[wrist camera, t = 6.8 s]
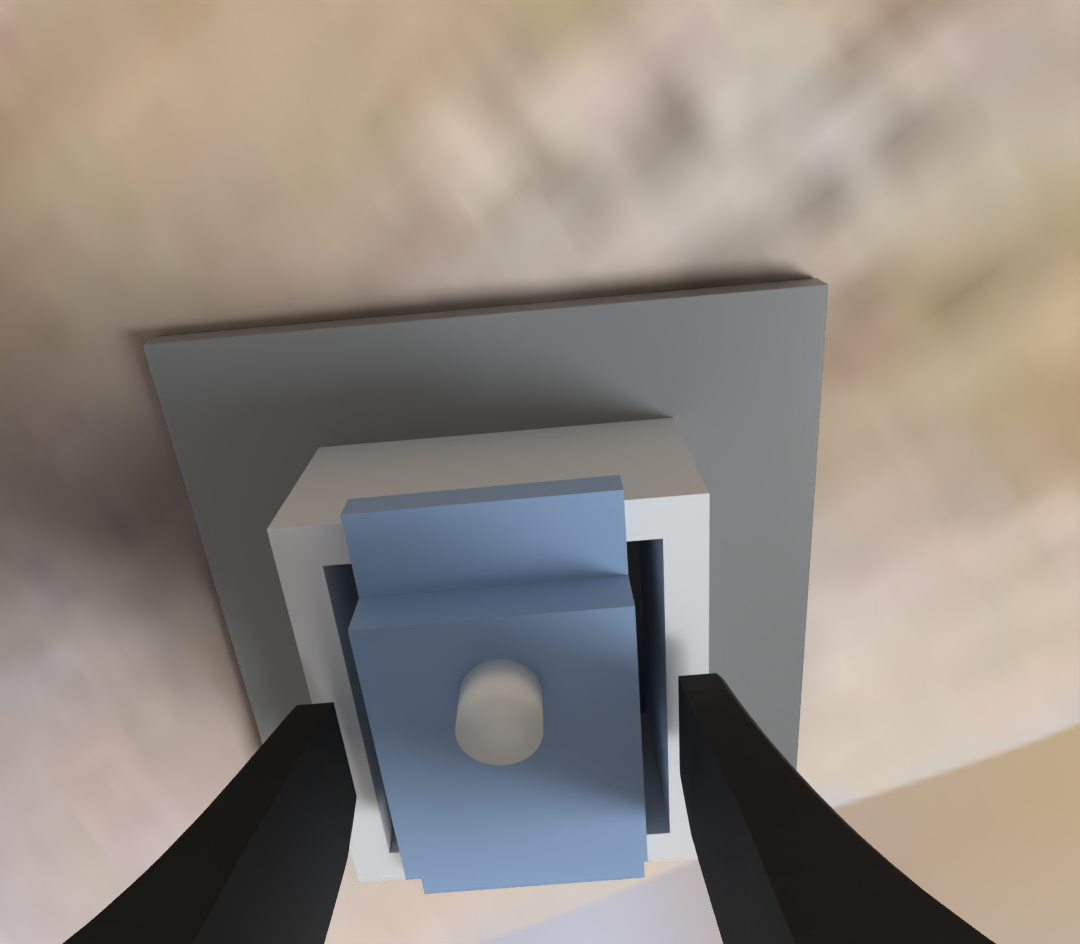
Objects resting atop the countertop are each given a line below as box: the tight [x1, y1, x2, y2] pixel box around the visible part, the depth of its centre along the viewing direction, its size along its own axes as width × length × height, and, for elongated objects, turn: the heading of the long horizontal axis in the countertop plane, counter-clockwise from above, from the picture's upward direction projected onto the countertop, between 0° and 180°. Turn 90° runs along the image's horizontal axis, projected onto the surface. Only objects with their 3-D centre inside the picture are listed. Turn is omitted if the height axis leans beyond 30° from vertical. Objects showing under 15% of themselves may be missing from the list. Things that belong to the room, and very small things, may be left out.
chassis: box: [142, 278, 828, 882], centre depth 15 cm, size 12×12×4 cm
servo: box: [341, 475, 648, 894], centre depth 14 cm, size 4×8×5 cm, turn 5°
